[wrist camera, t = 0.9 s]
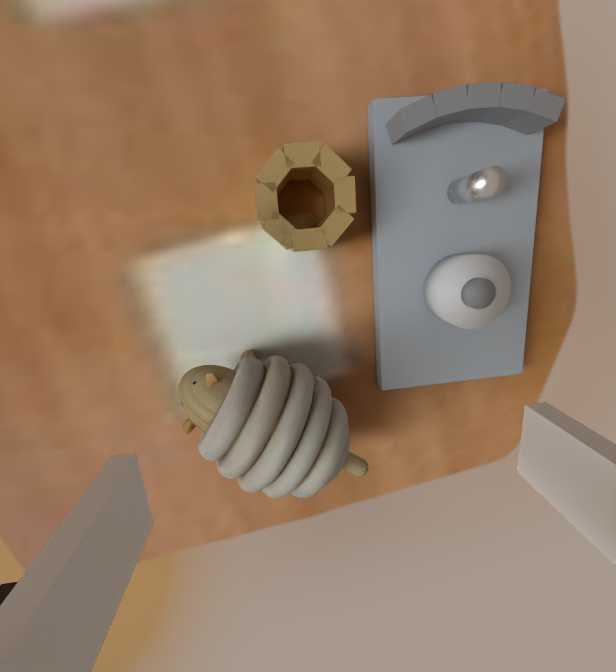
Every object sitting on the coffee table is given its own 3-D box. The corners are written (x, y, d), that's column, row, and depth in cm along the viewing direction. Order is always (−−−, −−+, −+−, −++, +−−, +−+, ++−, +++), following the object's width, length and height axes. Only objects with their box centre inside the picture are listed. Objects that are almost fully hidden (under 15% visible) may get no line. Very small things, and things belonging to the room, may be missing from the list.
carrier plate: (367, 106, 27) (389, 74, 22) (533, 96, 28) (591, 62, 23) (377, 384, 33) (395, 409, 28) (511, 367, 34) (553, 389, 29)
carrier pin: (447, 179, 27) (480, 166, 23) (471, 177, 27) (507, 164, 23) (446, 205, 28) (478, 197, 24) (470, 203, 28) (505, 195, 24)
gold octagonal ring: (253, 163, 27) (249, 146, 22) (339, 157, 28) (352, 138, 23) (264, 253, 29) (262, 254, 24) (344, 245, 29) (357, 245, 25)
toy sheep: (217, 309, 30) (185, 344, 19) (379, 381, 33) (429, 445, 22) (174, 408, 32) (123, 490, 21) (330, 467, 35) (355, 563, 25)
